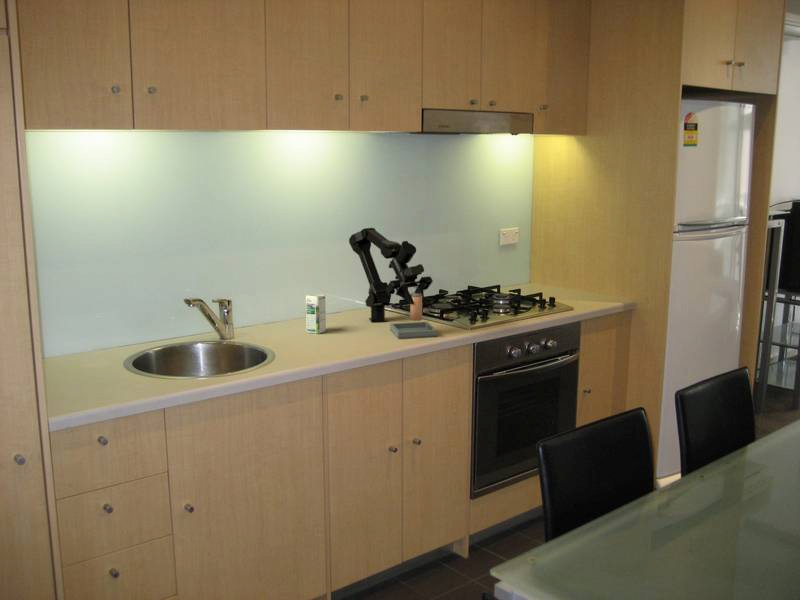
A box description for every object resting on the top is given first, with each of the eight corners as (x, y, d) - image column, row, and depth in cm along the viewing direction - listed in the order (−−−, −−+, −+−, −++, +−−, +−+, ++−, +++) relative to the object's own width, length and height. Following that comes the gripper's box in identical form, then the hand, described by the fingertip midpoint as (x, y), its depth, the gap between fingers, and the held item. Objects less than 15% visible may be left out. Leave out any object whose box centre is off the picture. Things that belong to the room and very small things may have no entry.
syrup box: (305, 332, 306) (304, 296, 303) (314, 329, 311) (313, 293, 309) (318, 334, 304) (317, 297, 301) (326, 331, 309) (325, 294, 306)
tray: (390, 329, 310) (390, 323, 310) (427, 327, 313) (427, 321, 313) (398, 339, 296) (398, 332, 295) (437, 336, 299) (437, 330, 298)
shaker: (408, 319, 302) (408, 294, 300) (414, 317, 306) (414, 292, 304) (418, 321, 300) (418, 295, 298) (424, 319, 303) (424, 293, 301)
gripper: (389, 259, 296) (406, 293, 289) (430, 255, 306) (447, 288, 300) (378, 277, 304) (394, 310, 298) (418, 272, 314) (434, 304, 308)
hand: (418, 303), depth 300 cm, fingers closed on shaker, 4 cm apart
